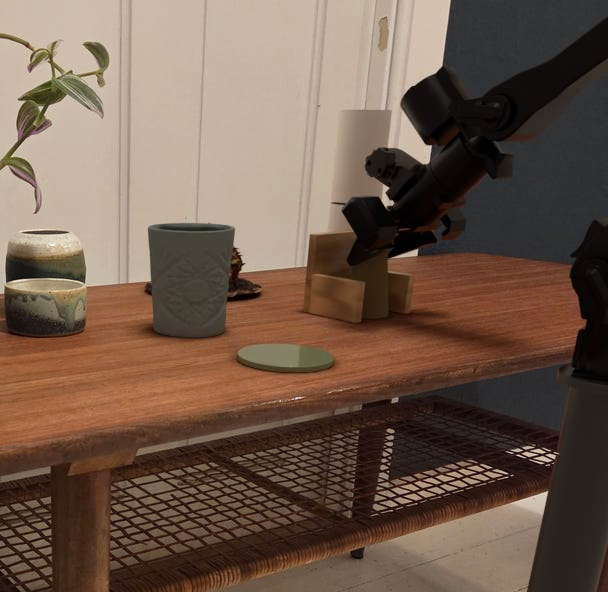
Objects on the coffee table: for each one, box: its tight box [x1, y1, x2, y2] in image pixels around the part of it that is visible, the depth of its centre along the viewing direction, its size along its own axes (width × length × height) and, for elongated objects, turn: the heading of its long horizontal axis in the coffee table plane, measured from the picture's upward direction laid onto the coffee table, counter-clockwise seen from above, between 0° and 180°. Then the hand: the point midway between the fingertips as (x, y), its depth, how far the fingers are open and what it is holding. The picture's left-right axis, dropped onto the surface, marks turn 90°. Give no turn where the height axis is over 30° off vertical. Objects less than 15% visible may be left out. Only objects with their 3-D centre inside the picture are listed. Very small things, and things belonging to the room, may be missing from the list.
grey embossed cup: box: [147, 222, 236, 338], centre depth 104 cm, size 10×10×12 cm
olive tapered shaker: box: [349, 233, 394, 320], centre depth 114 cm, size 6×6×11 cm
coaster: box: [236, 343, 335, 374], centre depth 93 cm, size 10×10×1 cm
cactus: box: [144, 222, 263, 298], centre depth 128 cm, size 17×16×10 cm
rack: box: [302, 230, 416, 324], centre depth 115 cm, size 9×11×10 cm
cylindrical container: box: [327, 109, 393, 232], centre depth 128 cm, size 7×7×25 cm
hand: (361, 261), depth 115 cm, fingers closed on olive tapered shaker, 5 cm apart
